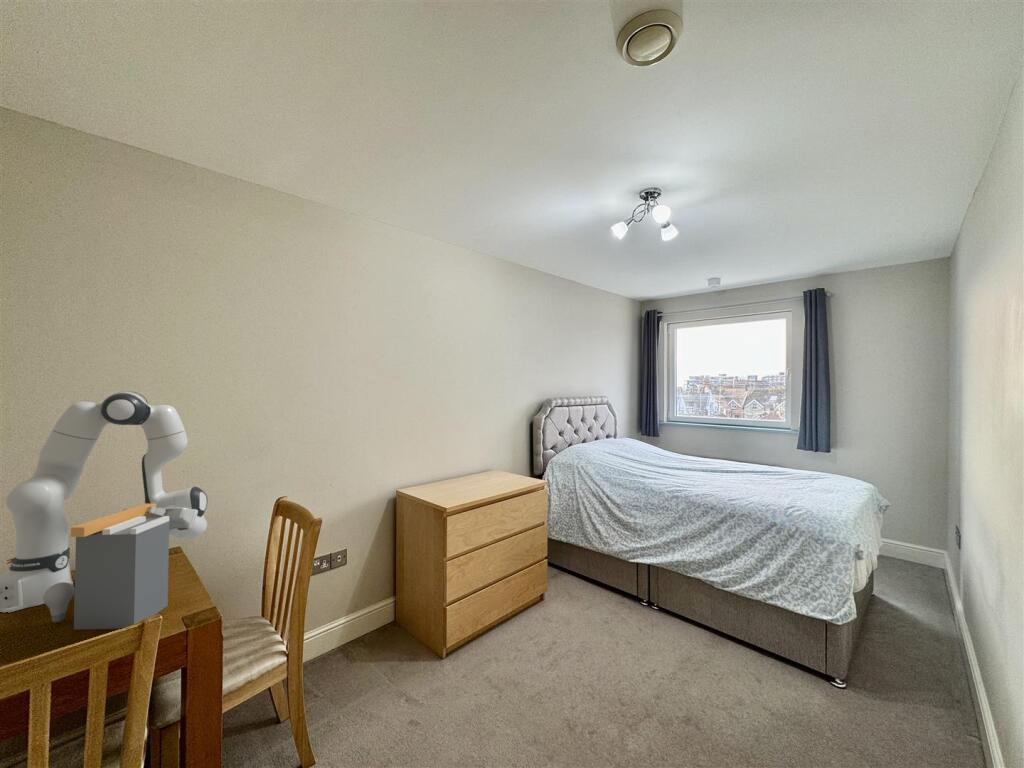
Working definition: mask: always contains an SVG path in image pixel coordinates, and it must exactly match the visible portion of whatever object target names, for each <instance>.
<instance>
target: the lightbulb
mask: <svg viewBox="0 0 1024 768" xmlns="http://www.w3.org/2000/svg"><path fill="white" fill-rule="evenodd" d="M73 596H75V585H74V584H73V585H72V584H70V583H67V582H61V583H57V584H55V585H53V586H51V587H50V588H48V589H47V590H46V592H45V593H44V596H43V600H44V602H45V604H44V605H46V606H47V607H48V609H49V612H50V615H51V622H52V623H56V622H58V623H60V621H61V622H63V620H65V619H66V612H67V611H68V606H69V603H70V601H71V600H72V598H73Z"/></svg>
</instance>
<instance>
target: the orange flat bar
mask: <svg viewBox="0 0 1024 768" xmlns="http://www.w3.org/2000/svg"><path fill="white" fill-rule="evenodd" d="M132 507H133V508H131V507H129V508H130V509H127V510H123V509H122V510H123V511H122V510H121V511H118V512H115V513H111V514H108V515H105V516H102V517H99V518H96V519H93V520H90V521H87V522H83V523H81V524H78V525H75V526H71V527H70V537H71V538H76V537H85V536H88V535H91V534H93V533H96V532H99V531H102V529H105V528H107V527H110V526H113V525H116V524H119V523H122V522H124V521H127V520H130V519H133V518H136V517H139V516H144V515H147V514H150V513H147V512H146V510H147V508H148V507H156V503H152V504H145V503H142V504H139V505H136V506H132Z"/></svg>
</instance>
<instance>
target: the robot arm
mask: <svg viewBox="0 0 1024 768" xmlns="http://www.w3.org/2000/svg"><path fill="white" fill-rule="evenodd" d="M109 424H113V425H118V426H140V427H141V428H142V429H143V431H144V432H143V433H144V436H145V437H146V438H145V439H146V440H147V450H146V453H145V454H144V455H143V456H142V459H141V472H142V473H141V474H142V483H143V484H142V485H143V493H144V504H152V503H156V507H148V508H147V510H146V512H147V513H150V514H147V515H144V516H146V521H153V520H155V519H158V518H161V517H163V516H169V536H173V537H175V538H179V539H181V540H193V539H196V538H199V537H200V536H201V535H203V534H204V533H205V531H206V530H207V528H208V521H207V520H206V518H205V512H206V510H207V507H208V502H209V501H208V499H209V498H208V496H207V493H206V492H205V491H204V490H203V489H201V488H200V487H198V486H191V487H188V488H183V489H182V488H181V489H178V490H174V491H170V492H165V490H164V486H163V475H162V469H163V468H164V466H165V465H166V464H167V463H170V461H172V460H174V459H176V458H177V457H178V456H180V455H182V454H183V453H184V452H185V450H186V448H187V447H188V443H189V440H188V435H187V432H186V429H185V426H184V423H183V421H182V419H181V416H180V415H179V413H178V411H177V409H176V408H175V407H174V406H172V405H169V404H156V405H152V404H151V405H150V404H149V402H148V400H147V399H146V397H145V396H144V395H142V394H141V393H138V392H136V391H131V390H129V391H128V390H127V391H119V392H116V393H113V394H111V395H109V396H107V397H106V398H105V399H104V400H103V401H102V402H93V401H77V402H74V403H72V404H71V405H69V407H68V408H67V409H66V410H65V411H64V412H63V413H62V415H60V417H59V419H58V420H57V421H56V423H55V425H54V426H53V427H52V430H51V431H50V434H49V435H48V437H47V439H46V441H45V442H44V444H43V446H42V448H41V449H40V451H39V453H38V455H39V457H38V461H37V465H36V468H35V471H34V472H33V474H32V476H31V477H30V478H28V479H27V480H24V481H21V482H20V483H17V484H16V485H15V486H14V487H13V488H12V490H11V491H10V492H9V493H8V495H7V496H6V500H5V503H6V506H7V508H8V510H9V511H10V513H11V516H12V519H13V524H14V528H15V533H16V535H15V536H16V541H15V542H16V543H15V544H16V545H15V546H16V547H15V551H16V552H15V556H14V557H13V558H10V559H8V560H6V563H5V564H6V565H9V564H10V566H9V569H8V570H7V571H5V572H4V573H1V575H0V613H6V612H8V613H12V612H15V611H20V610H23V609H26V608H27V609H28V608H32V607H36V606H41V605H43V604H44V605H46V604H45V602H44V600H43V596H44V593H45V592H46V590H47V589H48V588H50V587H51V586H53V585H55V584H57V583H61V582H67V583H70V584H72V585H73V586H74V581H73V580H72V574H71V568H70V567H71V566H70V562H69V561H70V558H71V550H70V549H71V548H70V547H69V522H68V520H67V518H66V515H65V511H64V502H65V501H66V500H68V499H69V498H70V497H72V495H73V494H74V493H75V490H76V488H77V485H78V484H79V481H80V478H81V475H82V473H83V470H84V467H85V464H86V462H87V460H88V458H89V456H90V454H91V452H92V450H93V448H94V446H95V444H96V442H97V440H98V439H99V436H100V435H101V433H102V431H103V430H104V428H105V427H106V426H107V425H109ZM133 507H134V506H131V507H124V508H123V509H122V510H121V511H123V510H127V509H130V508H133Z"/></svg>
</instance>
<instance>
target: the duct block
mask: <svg viewBox="0 0 1024 768" xmlns="http://www.w3.org/2000/svg"><path fill="white" fill-rule="evenodd" d="M169 543H170V535H169V516H163V517H161V518H158V519H155V520H153V521H146V516H139V517H136V518H133V519H130V520H127V521H124V522H122V523H119V524H116V525H113V526H110V527H107V528H105V529H102V531H99V532H96V533H93V534H91V535H88V536H85V537H75V559H74V560H75V561H74V563H75V565H74V567H75V568H74V570H75V571H74V589H75V592H74V602H73V603H74V606H73V609H74V610H73V613H74V614H73V630H111V629H112V630H115V629H117V630H119V629H120V628H124V627H127V626H131V625H134V624H136V623H138V622H140V621H142V620H143V619H145V618H147V617H150V616H152V617H153V616H155V615H156V614H158V613H160V612H161V611H162V610H164V609H166V608H167V607H168V604H169V602H168V601H169V599H168V597H169V559H170V558H169V556H170V555H169V554H170V553H169V552H170V549H169V548H170V545H169ZM150 618H151V617H150ZM124 629H125V628H124Z"/></svg>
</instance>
